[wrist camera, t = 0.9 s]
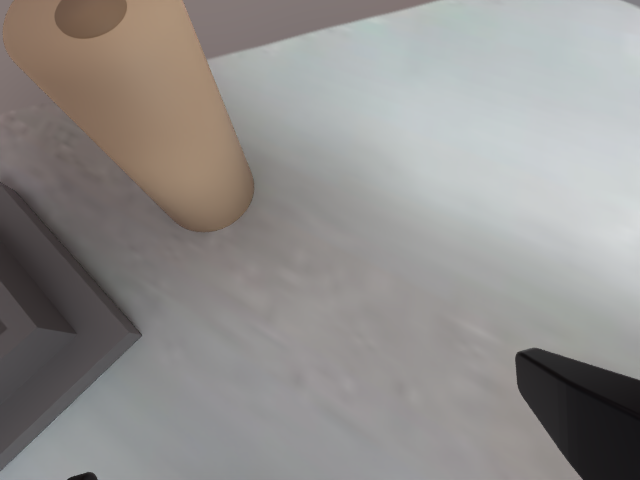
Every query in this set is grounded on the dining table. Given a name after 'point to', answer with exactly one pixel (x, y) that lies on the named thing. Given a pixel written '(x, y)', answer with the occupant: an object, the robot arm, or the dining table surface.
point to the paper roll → (139, 98)
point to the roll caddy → (47, 327)
